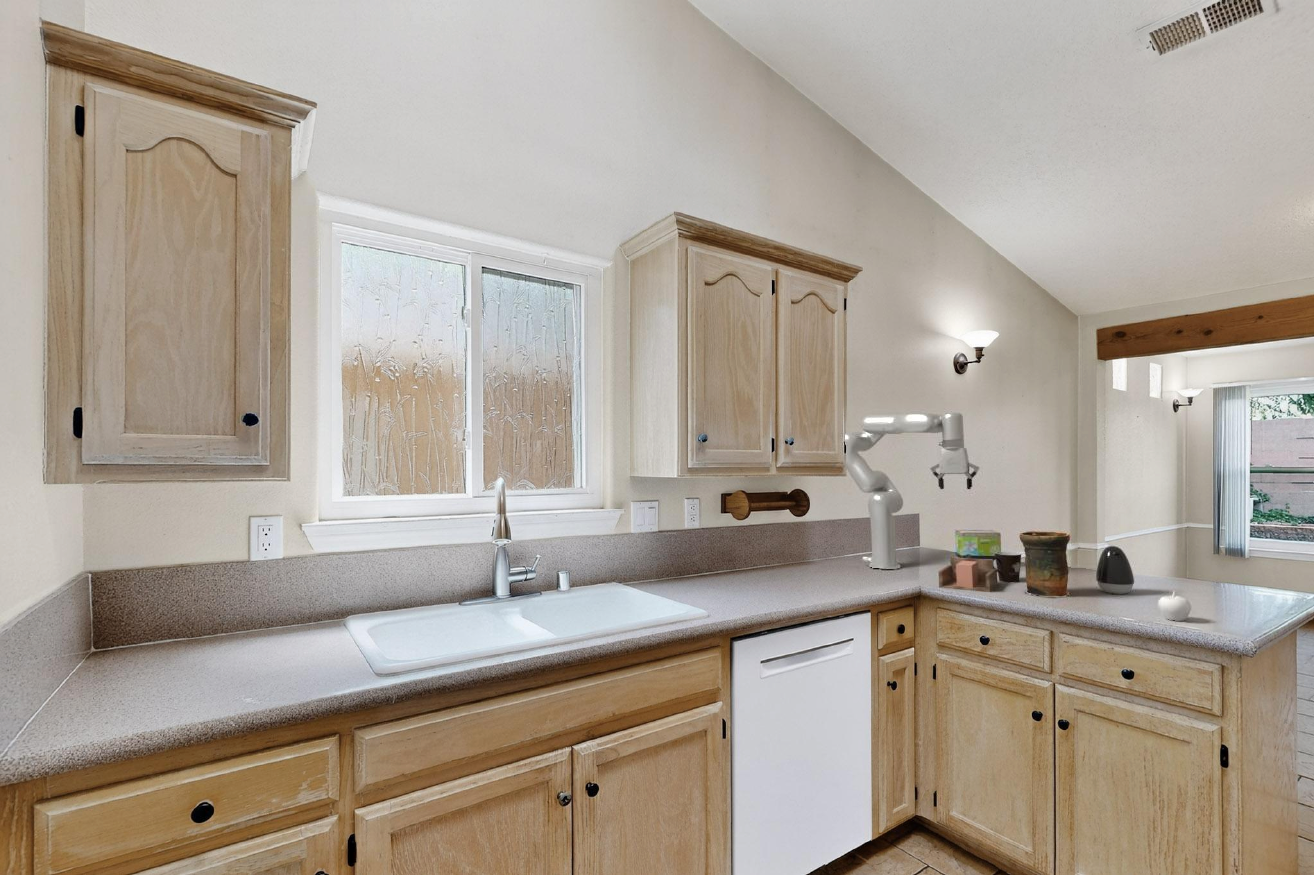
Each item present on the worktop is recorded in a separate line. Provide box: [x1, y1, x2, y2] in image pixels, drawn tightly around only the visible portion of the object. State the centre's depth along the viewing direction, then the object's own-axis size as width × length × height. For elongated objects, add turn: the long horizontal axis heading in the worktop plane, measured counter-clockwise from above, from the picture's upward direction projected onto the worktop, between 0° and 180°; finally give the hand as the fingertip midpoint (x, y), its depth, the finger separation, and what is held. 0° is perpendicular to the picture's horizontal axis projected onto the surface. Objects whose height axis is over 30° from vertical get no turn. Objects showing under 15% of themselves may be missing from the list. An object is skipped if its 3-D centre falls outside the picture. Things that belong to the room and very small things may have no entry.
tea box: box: [954, 529, 1002, 569], centre depth 263 cm, size 15×10×15 cm
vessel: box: [1019, 530, 1071, 598], centre depth 209 cm, size 14×14×20 cm
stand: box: [938, 557, 999, 593], centre depth 224 cm, size 16×15×9 cm
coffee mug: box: [992, 551, 1022, 583], centre depth 232 cm, size 12×9×10 cm
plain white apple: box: [1157, 590, 1192, 622], centre depth 173 cm, size 7×7×8 cm
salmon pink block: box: [956, 561, 979, 588], centre depth 224 cm, size 5×10×8 cm, turn 142°
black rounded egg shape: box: [1095, 545, 1135, 595], centre depth 208 cm, size 10×10×15 cm
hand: (955, 489), depth 245 cm, fingers open, 9 cm apart
